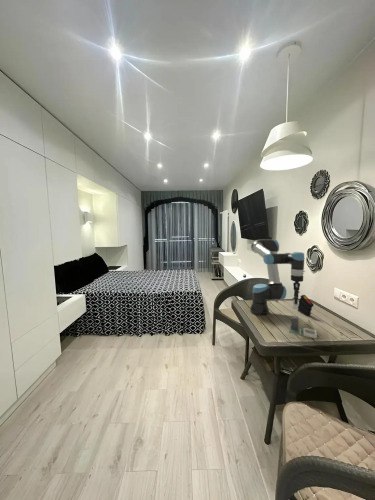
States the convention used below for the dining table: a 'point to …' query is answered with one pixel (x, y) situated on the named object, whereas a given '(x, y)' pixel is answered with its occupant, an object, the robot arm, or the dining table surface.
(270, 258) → the robot arm
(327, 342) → the dining table surface
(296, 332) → the board
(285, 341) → the dining table surface
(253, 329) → the dining table surface
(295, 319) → the plug
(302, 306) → the black ridged module
